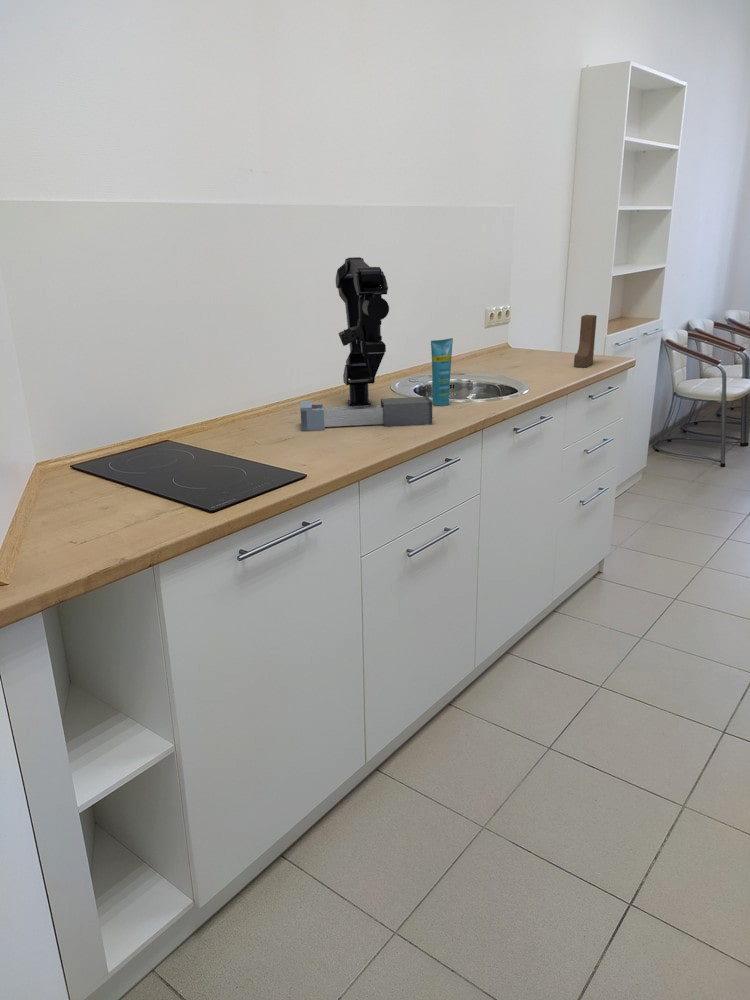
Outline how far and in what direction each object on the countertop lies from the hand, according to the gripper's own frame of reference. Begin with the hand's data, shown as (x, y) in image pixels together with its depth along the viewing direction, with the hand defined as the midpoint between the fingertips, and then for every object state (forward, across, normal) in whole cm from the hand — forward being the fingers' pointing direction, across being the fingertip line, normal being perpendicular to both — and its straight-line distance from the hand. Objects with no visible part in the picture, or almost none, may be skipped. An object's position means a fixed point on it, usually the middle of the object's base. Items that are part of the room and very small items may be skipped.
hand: (371, 374), depth 202 cm
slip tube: (+12, +8, -6) cm, 16 cm away
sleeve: (+12, +8, +8) cm, 17 cm away
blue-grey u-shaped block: (+12, +8, -17) cm, 22 cm away
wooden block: (+12, -62, +86) cm, 107 cm away
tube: (+12, -11, +22) cm, 27 cm away
